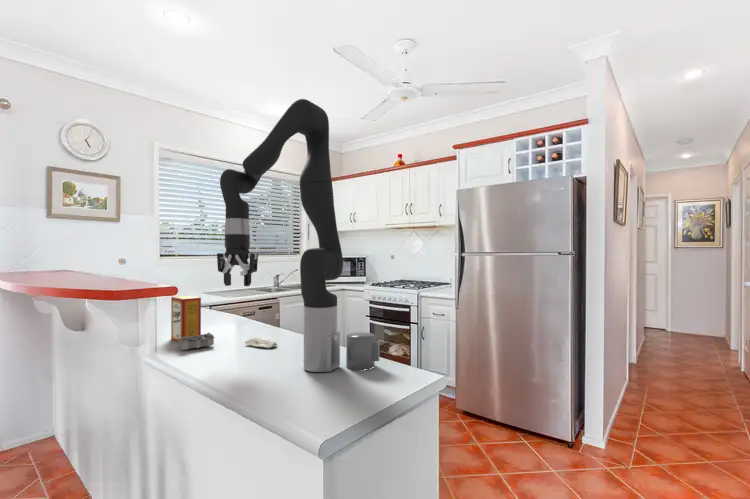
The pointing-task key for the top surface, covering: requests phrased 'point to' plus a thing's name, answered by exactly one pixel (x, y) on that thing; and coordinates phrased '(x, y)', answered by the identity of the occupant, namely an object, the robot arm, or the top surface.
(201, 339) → the egg carton
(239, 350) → the top surface
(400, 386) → the top surface
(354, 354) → the charcoal mug
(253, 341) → the pale elongated rock
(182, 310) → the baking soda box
